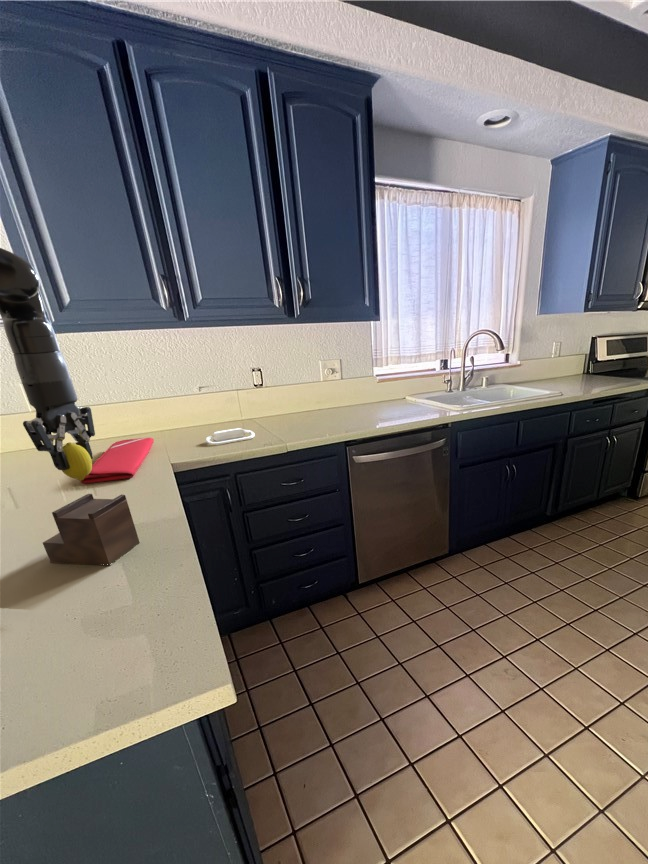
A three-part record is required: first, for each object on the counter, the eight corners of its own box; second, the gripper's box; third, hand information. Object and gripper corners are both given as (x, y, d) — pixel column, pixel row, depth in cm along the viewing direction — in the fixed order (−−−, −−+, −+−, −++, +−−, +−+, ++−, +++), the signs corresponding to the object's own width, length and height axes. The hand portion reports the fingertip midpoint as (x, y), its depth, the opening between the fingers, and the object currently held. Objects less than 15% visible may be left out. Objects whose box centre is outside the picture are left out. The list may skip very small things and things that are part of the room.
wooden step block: (50, 562, 92) (29, 511, 87) (85, 540, 101) (67, 492, 96) (110, 565, 90) (91, 513, 85) (139, 542, 99) (125, 494, 94)
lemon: (78, 486, 85) (64, 447, 81) (59, 483, 87) (45, 445, 83) (103, 477, 89) (91, 440, 86) (84, 474, 91) (72, 438, 88)
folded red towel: (79, 484, 135) (76, 473, 134) (113, 449, 171) (110, 440, 169) (134, 478, 139) (131, 467, 137) (156, 445, 175) (154, 436, 173)
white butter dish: (209, 449, 172) (208, 441, 170) (203, 441, 177) (202, 432, 175) (257, 441, 183) (257, 433, 180) (250, 432, 188) (250, 425, 185)
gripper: (59, 373, 86) (85, 453, 93) (-9, 384, 73) (28, 476, 80) (92, 373, 85) (117, 454, 93) (31, 384, 72) (64, 477, 80)
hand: (75, 464), depth 86 cm, fingers closed on lemon, 5 cm apart
